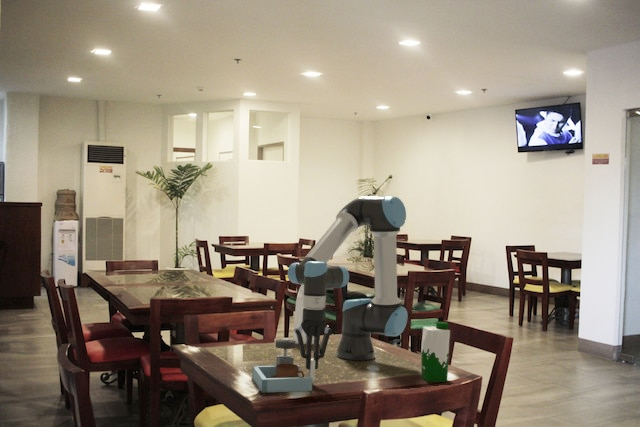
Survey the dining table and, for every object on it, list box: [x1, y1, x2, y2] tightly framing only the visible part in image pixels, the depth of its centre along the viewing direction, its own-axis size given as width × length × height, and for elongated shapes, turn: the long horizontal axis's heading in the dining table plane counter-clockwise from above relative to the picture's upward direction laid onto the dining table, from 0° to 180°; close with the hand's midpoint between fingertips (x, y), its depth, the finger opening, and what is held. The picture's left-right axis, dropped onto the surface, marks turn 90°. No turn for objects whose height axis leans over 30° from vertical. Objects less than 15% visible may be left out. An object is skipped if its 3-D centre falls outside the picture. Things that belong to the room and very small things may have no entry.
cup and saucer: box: [269, 363, 305, 378], centre depth 207 cm, size 12×12×6 cm
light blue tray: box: [251, 354, 313, 394], centre depth 210 cm, size 16×24×6 cm, turn 16°
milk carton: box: [420, 321, 451, 383], centre depth 222 cm, size 9×9×20 cm
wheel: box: [275, 338, 297, 356], centre depth 220 cm, size 7×7×6 cm
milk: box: [292, 285, 321, 345], centre depth 281 cm, size 12×12×26 cm
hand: (311, 378), depth 209 cm, fingers closed
